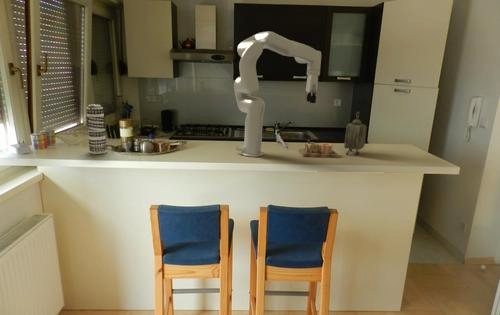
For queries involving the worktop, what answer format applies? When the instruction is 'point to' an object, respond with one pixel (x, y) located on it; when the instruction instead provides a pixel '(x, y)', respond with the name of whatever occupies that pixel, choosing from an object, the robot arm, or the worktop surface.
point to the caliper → (280, 140)
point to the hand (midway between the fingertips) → (310, 102)
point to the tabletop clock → (355, 135)
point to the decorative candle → (96, 129)
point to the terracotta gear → (325, 148)
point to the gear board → (330, 155)
